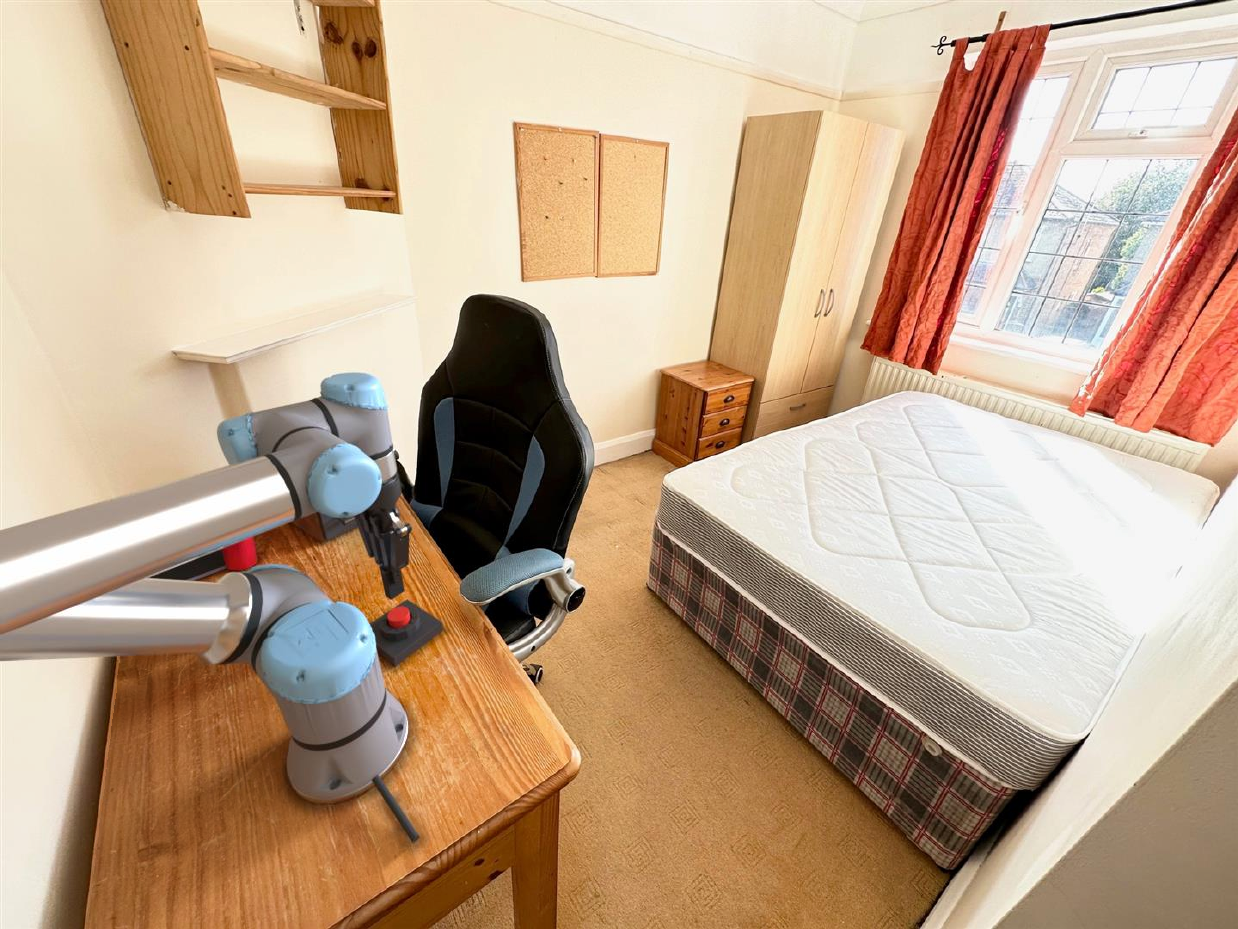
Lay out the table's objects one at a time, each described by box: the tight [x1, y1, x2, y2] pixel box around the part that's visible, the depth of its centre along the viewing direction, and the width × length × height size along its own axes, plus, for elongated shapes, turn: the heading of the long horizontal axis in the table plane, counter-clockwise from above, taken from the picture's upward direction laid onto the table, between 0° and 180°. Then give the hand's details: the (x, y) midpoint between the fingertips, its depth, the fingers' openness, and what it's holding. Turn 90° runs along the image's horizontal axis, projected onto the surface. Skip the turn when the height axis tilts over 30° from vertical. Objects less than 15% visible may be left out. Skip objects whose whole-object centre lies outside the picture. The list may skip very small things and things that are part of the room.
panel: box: [369, 598, 444, 668], centre depth 87 cm, size 10×10×4 cm
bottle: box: [222, 536, 259, 571], centre depth 97 cm, size 5×5×20 cm
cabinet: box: [290, 512, 358, 544], centre depth 116 cm, size 16×14×10 cm
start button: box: [387, 606, 410, 628], centre depth 86 cm, size 4×4×2 cm
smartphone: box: [149, 549, 228, 581], centre depth 98 cm, size 7×1×15 cm
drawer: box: [317, 512, 358, 541], centre depth 114 cm, size 19×12×8 cm, turn 58°
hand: (395, 593), depth 83 cm, fingers closed
